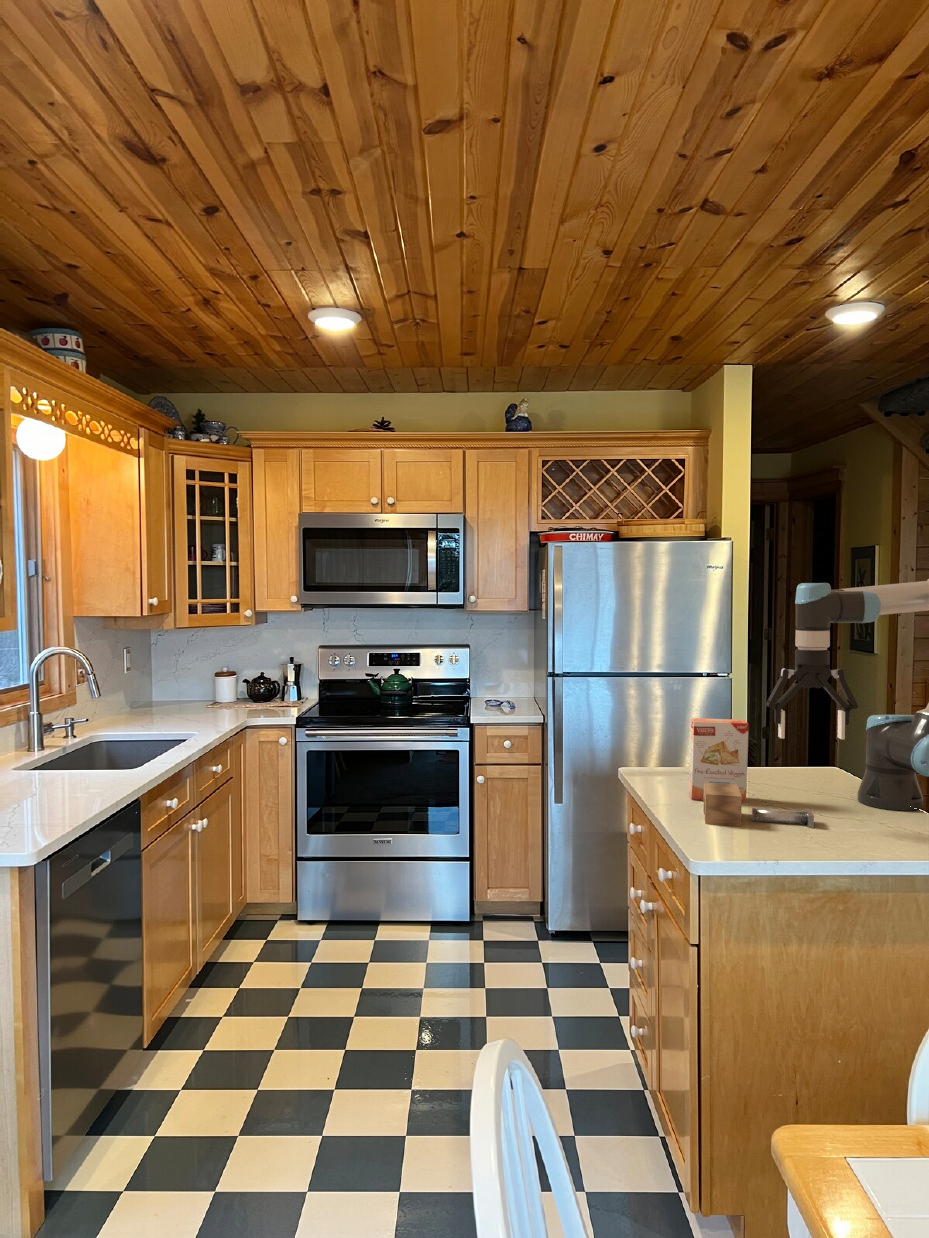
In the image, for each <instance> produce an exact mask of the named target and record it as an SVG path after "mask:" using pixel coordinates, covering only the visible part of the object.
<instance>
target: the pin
mask: <svg viewBox="0 0 929 1238" xmlns="http://www.w3.org/2000/svg"><path fill="white" fill-rule="evenodd" d="M751 821H752V822H760V823H776V824H777V823H778V824H791V825H802V826H803V825H805V826H806V827H807V828H808V829H815V828H814V825H815V824H814V823H815V815H814V813H813V812H812V810H811V809H810V808H804V809H803V810H787V809H786V810H785V809H774V808H773V809H771V808H758V807H757V808H755V807H752V808H751Z"/></svg>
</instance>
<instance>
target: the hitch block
mask: <svg viewBox="0 0 929 1238" xmlns="http://www.w3.org/2000/svg"><path fill="white" fill-rule="evenodd" d="M742 803H743V802H742V796H741V793H740V790H739V787H738V785H735V784H719V783H704V800H703V804H702V805H703V811H702V812H703V815H704V824H706V825H716V826H717V825H718V826H733V827H742Z"/></svg>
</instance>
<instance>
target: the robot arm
mask: <svg viewBox="0 0 929 1238" xmlns="http://www.w3.org/2000/svg"><path fill="white" fill-rule="evenodd" d="M794 604H795V638H794V639H795V641H794V642H795V643H794V644H795V647H797V648H796V649H795V652H794V669H787V668H784V667H783V668H781V669H780V673H779V674H780V675H779V677H778V680H777V682H776V683H775V685H774V687H773V688H772V689H773V690H772V691H771V693H770V695H769V697H768V699H767V701H766V703H765V705H766V707H768V708H771V709H773V711H774V712H773V714H774V715H773V718H774V719H773V721H774V723H775V725H778V728H777V729H778V730H777V731H778V732H777V733H778V735H777V737H778V738H779V739H782V740H784V739H785V738H786V737H785V736H786V735H785V734H786V733H785V731H786V711H785V710H784V709H783V708H784V707H785V706H786V705H787V704H788V703H789V702H790V700H791V699H792V698H794V696H795V695H796V694H797V693H798V692H799V691H800V690H802V688H805V689H811V688H814V689H821V688H823V689H824V690H825V691H826V692H827V693H828V695H829V696H830V697H831V698H832V700H834V701H835V703H836V704H837V705H838V706H839V708H840V709H838V710H837V738H838V739H840V740H846V735H845V734H846V725H847V726H849V723H850V712H851V711H852V710H854V709H855V710H857V709H858V708H859V705H858V703H857V701H856V698H855V697H854V695H853V692H852V691H851V689H850V687H849V685H848V683H847V681H846V678H845V672H844V669H842V668H835V669H831V668H830V659H831V658H830V657H831V656H830V654H831V653H830V652H831V651H830V650H829V649H828V648H830V646H831V641H830V640H831V633H830V631H831V624H836V623H837V624H839V623H840V624H849V623H850V624H851V623H852V624H853V623H854V624H855V623H856V624H865V623H873V622H875V621H876V620H878V618H880V617H879V616H883V615H894V614H905V613H915V612H927V611H929V578H928V579H927V580H923V581H912V582H911V581H910V582H902V583H889V584H881V585H879V584H878V585H870V586H869V585H867V586H859V587H848V588H839V589H832V587H831V584H830V583H828V582H818V583H817V582H801V583H799V584H798V585H797V587H796V592H795V601H794ZM792 676H793V677H794V678H795V680H794V681H793V683H792V684H791V686H790V687H789V688H788V689H787V690H786V691H785V693H784V694H783V695H782V696H781V697H780V695H781V693H782V692H783V689H784V688H785V686H786V684H787V683H788V679H791V677H792ZM831 676H832V678H834V679H836V682H837V684H838V686H839V688H840V690H841V692H842V694H843V696H844V698H845V700H844V699H843V698H842V697H841V696H840V694H838V692H837V691H836V690H835V688H833V686H832V685H831V684H830V683H829V682H828V681H829V679H830V678H831ZM779 697H780V699H779ZM845 701H847V702H845ZM865 731H866V739H865V740H866V741H865V742H866V743H865V744H866V745H865V772H864V775H863V777H862V779H861V782H860V784H859V787H858V790H857V801H858V802H860V803H861V804H862V805H866V806H868V807H873V808H879V809H883V810H890V811H891V810H893V811H917V810H916V809H914V808H917V809H918V810H921V809H923V808H924V796H923V794H922V793H923V792H922V790H921V788H920V785H919V784H920V783H919V781H918V778H917V777H918V776H917V773H918V774H919V775H922V776H923V777H929V702H928V703H927V705H926V707H925V708H924V709H920V710H917V711H916V712H915V714H872V715H870V716H869V717H867V720H866V728H865ZM910 806H911V807H910Z"/></svg>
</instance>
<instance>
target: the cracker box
mask: <svg viewBox="0 0 929 1238" xmlns="http://www.w3.org/2000/svg"><path fill="white" fill-rule="evenodd" d="M749 724H750V723H748V722H747V721H746V720H745V719H731V718H728V719H727V718H707V717H706V718H703V717H702V718H699V717H690V733H689V734H690V735H689V737H690V739H689V771H688V772H689V774H688V795H689V798H690V799H691V800H692V801H697V800H698V801H704V783H719V784H735V785H738V787H739V790H740V793H741V796H742V803H746V802H747V789H748V788H747V786H748V785H747V784H748V756H749V755H748V754H749V753H748V752H749Z"/></svg>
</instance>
